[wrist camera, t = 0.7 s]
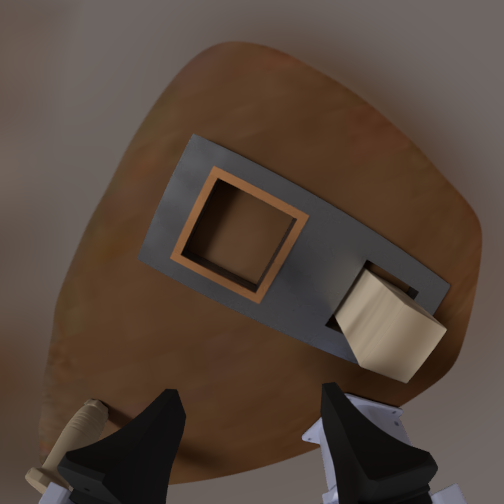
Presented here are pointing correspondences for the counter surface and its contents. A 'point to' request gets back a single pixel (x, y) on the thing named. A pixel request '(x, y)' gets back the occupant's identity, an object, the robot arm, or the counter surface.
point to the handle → (70, 443)
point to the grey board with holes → (277, 250)
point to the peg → (386, 327)
